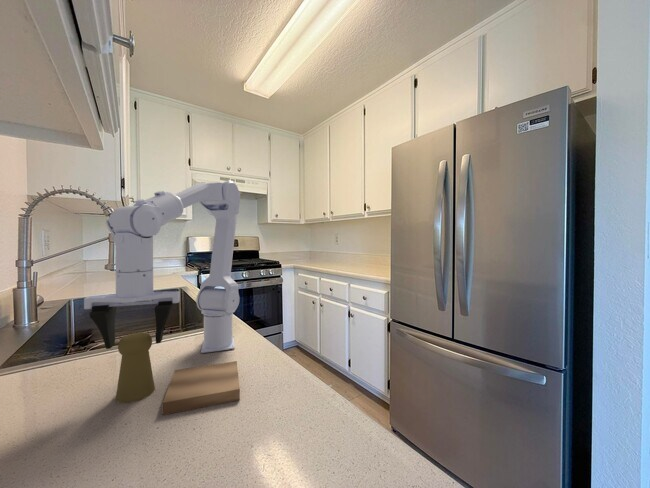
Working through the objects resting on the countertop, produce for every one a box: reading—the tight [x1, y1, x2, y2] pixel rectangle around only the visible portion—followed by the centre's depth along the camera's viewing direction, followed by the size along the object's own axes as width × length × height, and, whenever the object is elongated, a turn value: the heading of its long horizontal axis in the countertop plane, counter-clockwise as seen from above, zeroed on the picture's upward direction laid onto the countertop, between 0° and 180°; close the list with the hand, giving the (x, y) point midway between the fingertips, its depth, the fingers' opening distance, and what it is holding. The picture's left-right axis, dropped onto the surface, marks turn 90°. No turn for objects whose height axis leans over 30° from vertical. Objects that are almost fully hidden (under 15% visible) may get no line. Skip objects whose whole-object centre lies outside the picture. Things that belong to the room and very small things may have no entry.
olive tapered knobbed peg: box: [115, 331, 156, 404], centre depth 51 cm, size 6×6×11 cm
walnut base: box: [162, 360, 241, 416], centre depth 52 cm, size 12×12×2 cm
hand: (135, 344), depth 51 cm, fingers open, 7 cm apart
